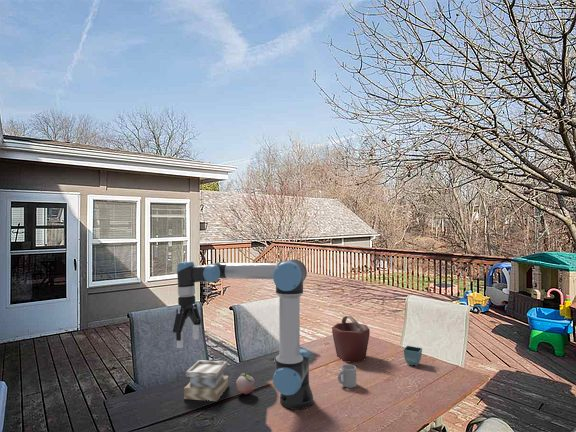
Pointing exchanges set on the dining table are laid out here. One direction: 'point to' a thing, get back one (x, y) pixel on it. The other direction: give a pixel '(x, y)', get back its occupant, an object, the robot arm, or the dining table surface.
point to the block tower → (206, 380)
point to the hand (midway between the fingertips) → (188, 343)
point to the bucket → (351, 340)
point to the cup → (347, 376)
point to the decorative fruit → (245, 383)
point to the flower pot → (412, 355)
